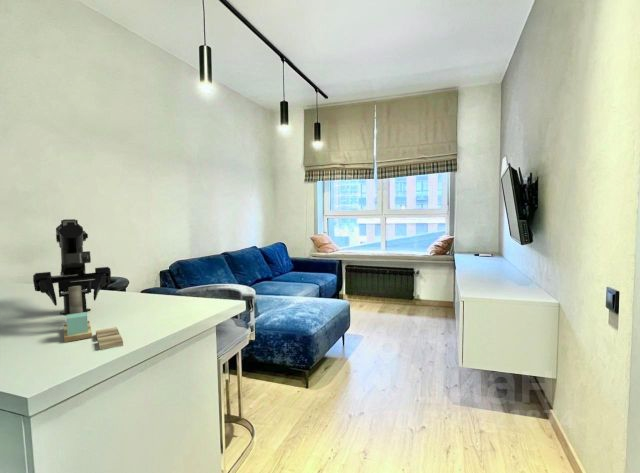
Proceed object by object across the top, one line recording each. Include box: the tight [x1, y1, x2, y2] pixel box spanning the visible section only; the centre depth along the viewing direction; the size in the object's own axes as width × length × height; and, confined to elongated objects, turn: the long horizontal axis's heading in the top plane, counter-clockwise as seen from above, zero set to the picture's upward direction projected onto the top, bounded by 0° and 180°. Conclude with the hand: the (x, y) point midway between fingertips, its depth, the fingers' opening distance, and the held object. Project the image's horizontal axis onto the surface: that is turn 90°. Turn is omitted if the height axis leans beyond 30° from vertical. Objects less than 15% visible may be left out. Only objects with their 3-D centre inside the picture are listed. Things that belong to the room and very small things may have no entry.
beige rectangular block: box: [95, 326, 124, 351], centre depth 92 cm, size 14×5×1 cm, turn 36°
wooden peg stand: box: [63, 286, 93, 343], centre depth 98 cm, size 14×6×12 cm, turn 36°
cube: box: [65, 311, 89, 336], centre depth 95 cm, size 4×4×4 cm
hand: (75, 302), depth 101 cm, fingers open, 9 cm apart
